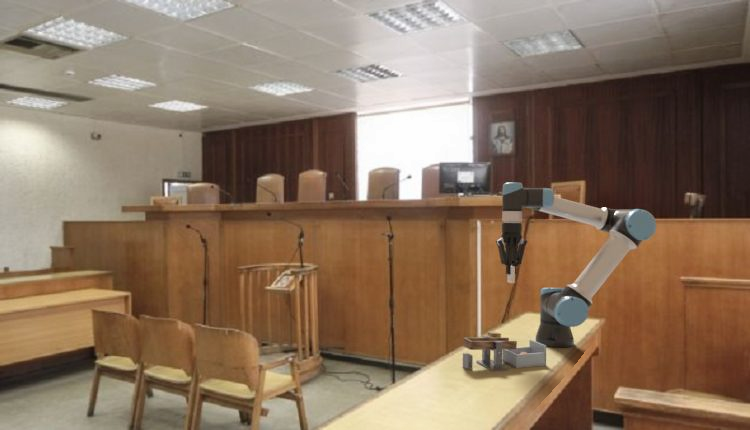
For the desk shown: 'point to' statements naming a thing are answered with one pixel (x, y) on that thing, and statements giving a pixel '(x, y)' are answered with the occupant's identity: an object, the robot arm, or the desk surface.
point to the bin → (526, 355)
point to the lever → (488, 342)
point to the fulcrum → (487, 358)
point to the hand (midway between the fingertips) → (510, 282)
